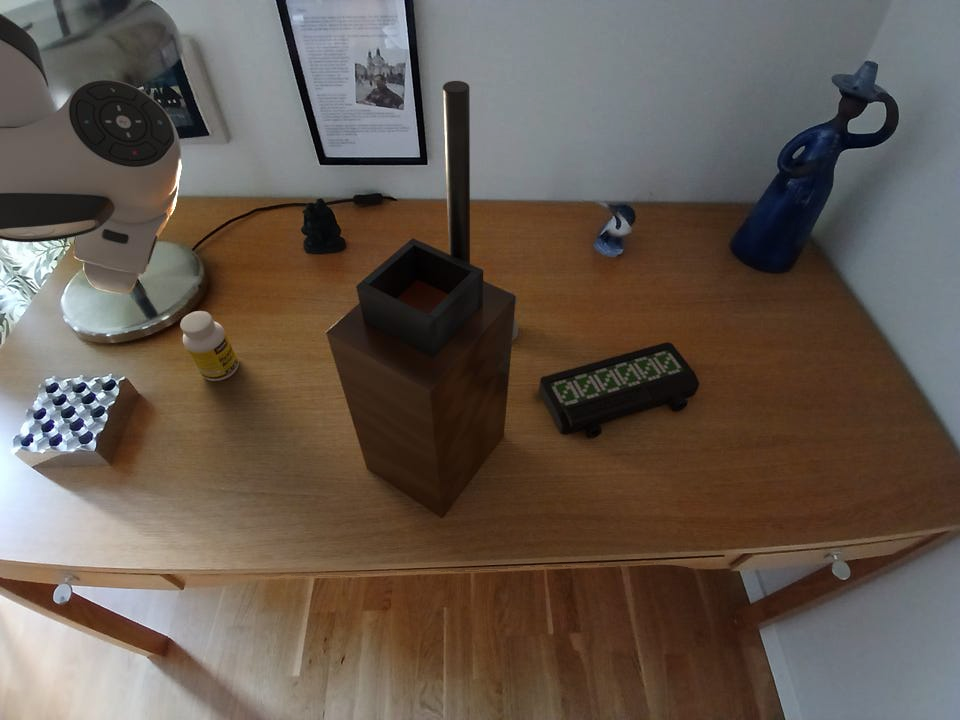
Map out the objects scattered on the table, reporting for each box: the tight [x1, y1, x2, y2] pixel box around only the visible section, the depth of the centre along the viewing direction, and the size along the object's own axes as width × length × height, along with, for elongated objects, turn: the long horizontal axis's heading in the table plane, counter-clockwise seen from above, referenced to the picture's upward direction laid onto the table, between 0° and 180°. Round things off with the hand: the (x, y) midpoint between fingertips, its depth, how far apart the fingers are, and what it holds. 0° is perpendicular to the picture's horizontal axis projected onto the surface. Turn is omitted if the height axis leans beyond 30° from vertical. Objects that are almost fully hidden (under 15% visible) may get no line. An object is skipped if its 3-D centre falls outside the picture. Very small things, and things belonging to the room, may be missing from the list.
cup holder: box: [325, 80, 517, 519], centre depth 55 cm, size 14×12×45 cm
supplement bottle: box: [179, 310, 240, 382], centre depth 78 cm, size 5×5×10 cm
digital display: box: [538, 341, 700, 439], centre depth 78 cm, size 21×3×10 cm
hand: (131, 221), depth 70 cm, fingers open, 8 cm apart
